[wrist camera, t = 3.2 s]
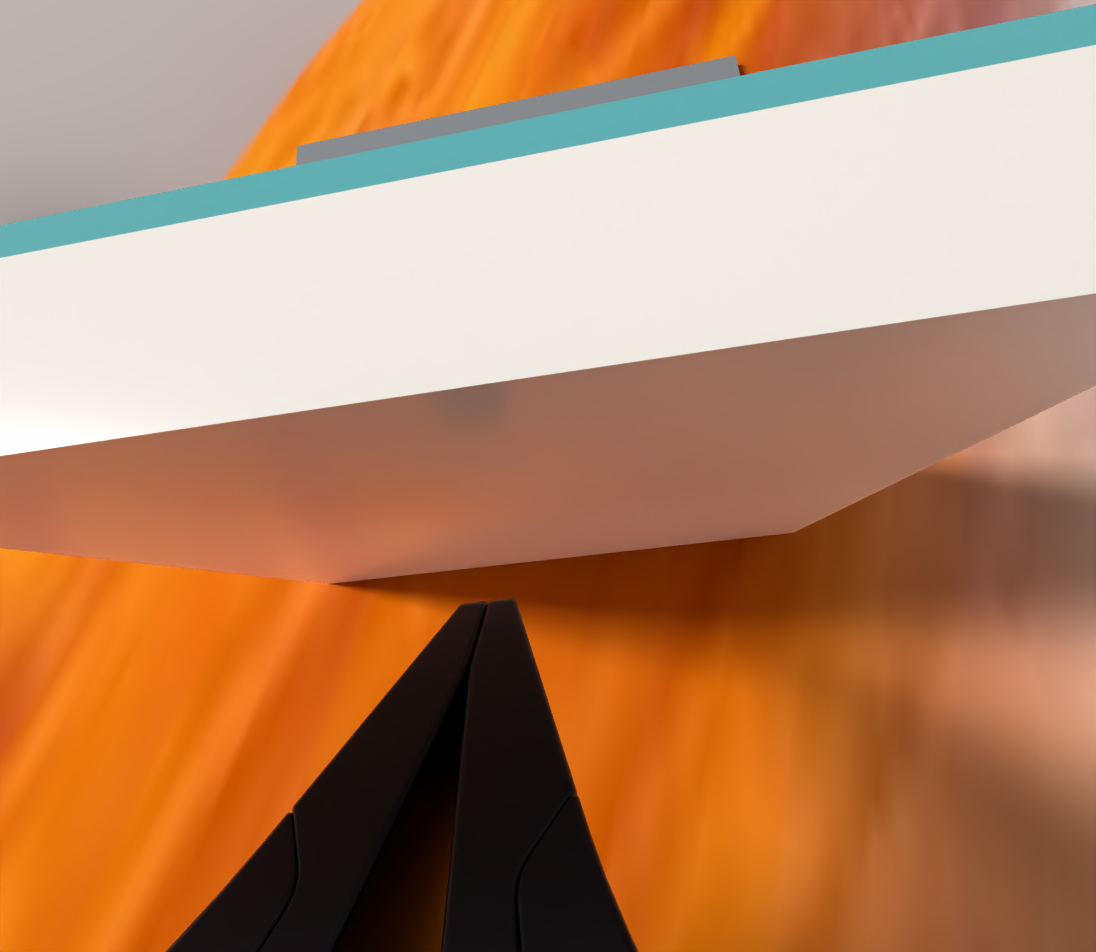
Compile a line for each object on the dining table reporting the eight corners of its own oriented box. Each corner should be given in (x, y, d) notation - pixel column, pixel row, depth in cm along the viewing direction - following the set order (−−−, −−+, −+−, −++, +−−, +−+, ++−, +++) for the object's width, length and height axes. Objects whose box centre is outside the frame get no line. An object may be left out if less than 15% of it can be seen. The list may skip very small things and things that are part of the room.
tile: (793, 532, 15) (1369, 251, 3) (329, 583, 16) (-355, 509, 5) (775, 449, 16) (1201, -18, 4) (330, 506, 17) (-269, 279, 6)
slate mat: (822, 416, 16) (826, 413, 15) (287, 487, 17) (281, 485, 17) (733, 63, 19) (735, 55, 19) (301, 152, 21) (296, 146, 21)
